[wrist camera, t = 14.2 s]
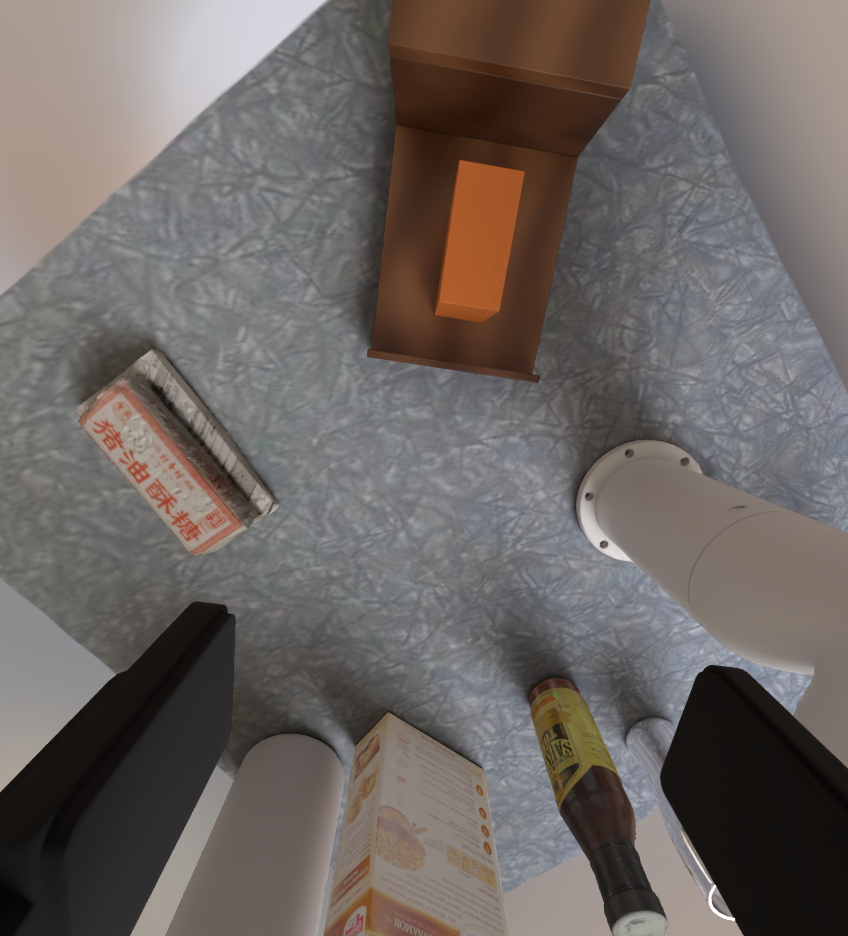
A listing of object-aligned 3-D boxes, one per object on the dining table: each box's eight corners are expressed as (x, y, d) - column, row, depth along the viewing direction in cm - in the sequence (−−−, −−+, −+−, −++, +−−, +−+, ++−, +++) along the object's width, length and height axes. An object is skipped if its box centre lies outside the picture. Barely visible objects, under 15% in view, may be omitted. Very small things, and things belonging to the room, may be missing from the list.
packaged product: (266, 522, 36) (182, 576, 38) (284, 503, 41) (208, 552, 42) (125, 346, 33) (36, 413, 34) (162, 347, 37) (83, 407, 39)
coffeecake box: (353, 746, 49) (310, 988, 30) (388, 708, 48) (366, 936, 29) (450, 803, 52) (466, 1060, 33) (486, 768, 50) (525, 1015, 31)
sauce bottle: (534, 669, 46) (614, 887, 27) (586, 678, 47) (702, 899, 28) (519, 715, 48) (585, 951, 29) (570, 723, 48) (668, 962, 29)
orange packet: (500, 216, 32) (525, 170, 24) (481, 322, 34) (499, 311, 26) (450, 208, 32) (459, 159, 24) (434, 315, 34) (438, 301, 26)
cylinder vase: (299, 824, 52) (196, 1224, 28) (222, 770, 50) (35, 1157, 26) (366, 770, 50) (316, 1153, 26) (289, 711, 48) (154, 1073, 23)
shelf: (579, 103, 33) (655, -21, 22) (522, 380, 38) (561, 387, 28) (406, 71, 32) (399, -73, 21) (374, 357, 38) (356, 355, 27)
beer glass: (613, 754, 50) (692, 916, 35) (634, 708, 48) (726, 859, 33) (666, 764, 50) (766, 928, 36) (688, 719, 48) (803, 873, 34)
